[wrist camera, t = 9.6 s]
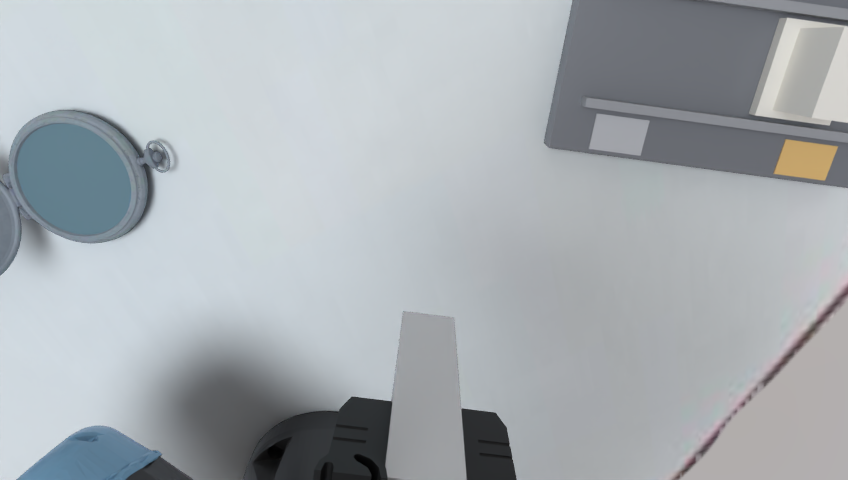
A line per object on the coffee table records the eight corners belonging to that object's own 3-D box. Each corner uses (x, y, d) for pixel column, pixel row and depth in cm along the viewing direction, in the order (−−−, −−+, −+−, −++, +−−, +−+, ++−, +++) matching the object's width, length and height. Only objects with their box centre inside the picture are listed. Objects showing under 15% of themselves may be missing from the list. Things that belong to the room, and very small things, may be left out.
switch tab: (821, 123, 37) (874, 135, 33) (748, 113, 37) (791, 124, 32) (857, 28, 35) (918, 27, 31) (779, 18, 35) (830, 14, 30)
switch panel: (840, 182, 40) (872, 194, 37) (543, 142, 40) (552, 150, 37) (924, -28, 36) (968, -34, 33) (588, -76, 35) (602, -86, 32)
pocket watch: (-197, 171, 31) (41, 100, 29) (-38, 138, 41) (145, 84, 39) (-95, 326, 34) (124, 269, 32) (28, 259, 44) (200, 214, 43)
